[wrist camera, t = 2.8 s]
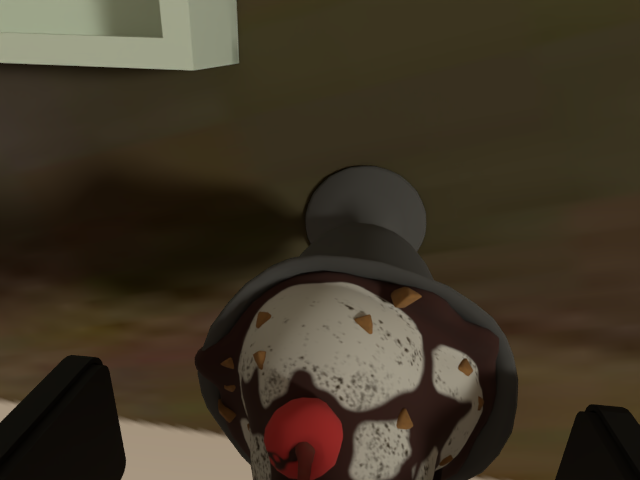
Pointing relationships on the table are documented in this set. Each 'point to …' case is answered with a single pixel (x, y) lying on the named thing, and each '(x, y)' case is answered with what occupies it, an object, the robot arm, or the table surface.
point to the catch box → (120, 33)
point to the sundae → (359, 352)
